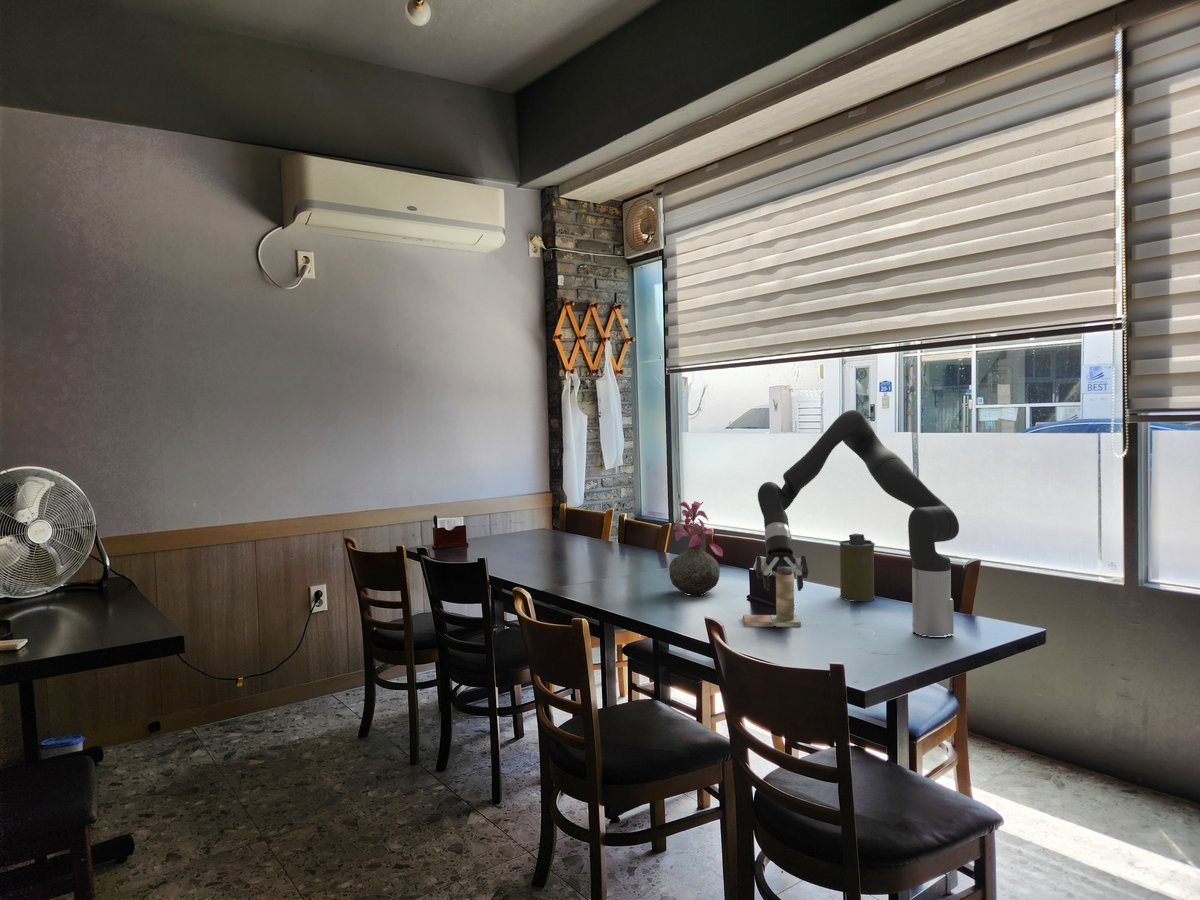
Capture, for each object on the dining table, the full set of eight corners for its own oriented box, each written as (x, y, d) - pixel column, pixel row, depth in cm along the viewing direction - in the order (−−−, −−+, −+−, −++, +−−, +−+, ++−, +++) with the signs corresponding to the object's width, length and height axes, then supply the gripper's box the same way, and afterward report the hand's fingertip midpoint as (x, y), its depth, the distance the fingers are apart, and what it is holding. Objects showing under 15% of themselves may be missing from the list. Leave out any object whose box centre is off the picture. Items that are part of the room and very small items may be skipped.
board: (796, 619, 223) (796, 614, 223) (800, 626, 215) (800, 622, 215) (742, 618, 224) (742, 614, 224) (745, 626, 216) (745, 622, 216)
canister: (860, 603, 239) (859, 538, 238) (832, 597, 248) (832, 534, 247) (882, 598, 245) (882, 534, 244) (855, 592, 254) (855, 530, 253)
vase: (671, 587, 266) (670, 499, 265) (724, 588, 263) (722, 499, 262) (667, 599, 250) (665, 505, 248) (722, 600, 247) (721, 505, 245)
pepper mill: (792, 616, 221) (792, 566, 221) (795, 620, 217) (794, 569, 216) (775, 616, 222) (774, 566, 221) (777, 620, 217) (777, 569, 217)
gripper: (802, 549, 231) (808, 596, 221) (752, 549, 233) (757, 596, 222) (804, 533, 226) (811, 582, 215) (754, 534, 227) (758, 582, 217)
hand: (783, 589), depth 219 cm, fingers open, 8 cm apart
